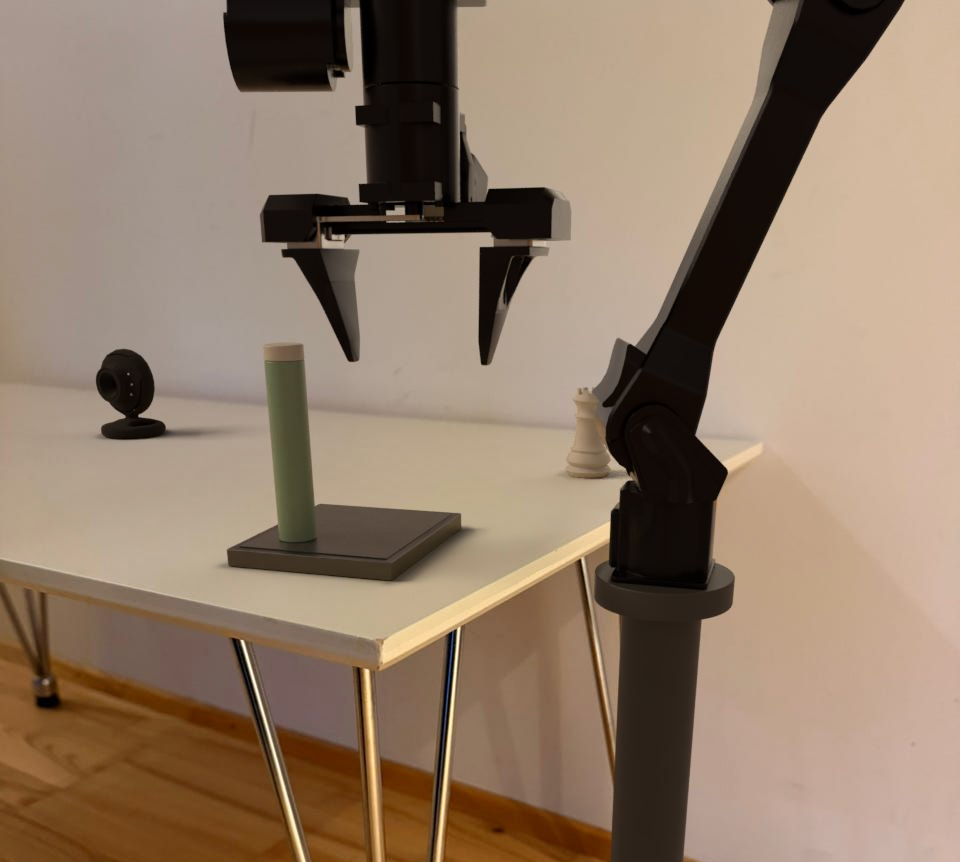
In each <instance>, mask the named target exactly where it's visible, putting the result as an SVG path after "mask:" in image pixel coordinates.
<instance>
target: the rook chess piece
mask: <svg viewBox="0 0 960 862" xmlns="http://www.w3.org/2000/svg"><path fill="white" fill-rule="evenodd" d="M595 387H596V386H595ZM595 387H591V390H589V387H587V386H584V387H578V388H576V394H575V395H574V396H573V397H572V401H573V402H574V404H575V406H576V409H577V411H576V413H575V414H574V417H575V418H576V427H575V434H574V439H573V443H572V446H570V451H569V452H568V453H567V455H566V457H565V461H566V462H567V466H565V467H564V471H565V472H566V473H567V475H568V476H571V477H575V478H583V479H597V478H602V477H603V478H604V477H606V476H608V475H609V473H610V472H611V471H612V468H611V466H609V464H610V462H611V461H612V460H611V457H610V453H608V452H607V450H608V449H607V448H606V446H605V445H604V443H603V442H602V440H601V438H600V436H599V433H598V430H597V428H596V423H595V412H596V409H597V405H598V400H597V399H596V398H595V396H594V395H593V394H592V390H593V389H594V388H595Z"/></svg>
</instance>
